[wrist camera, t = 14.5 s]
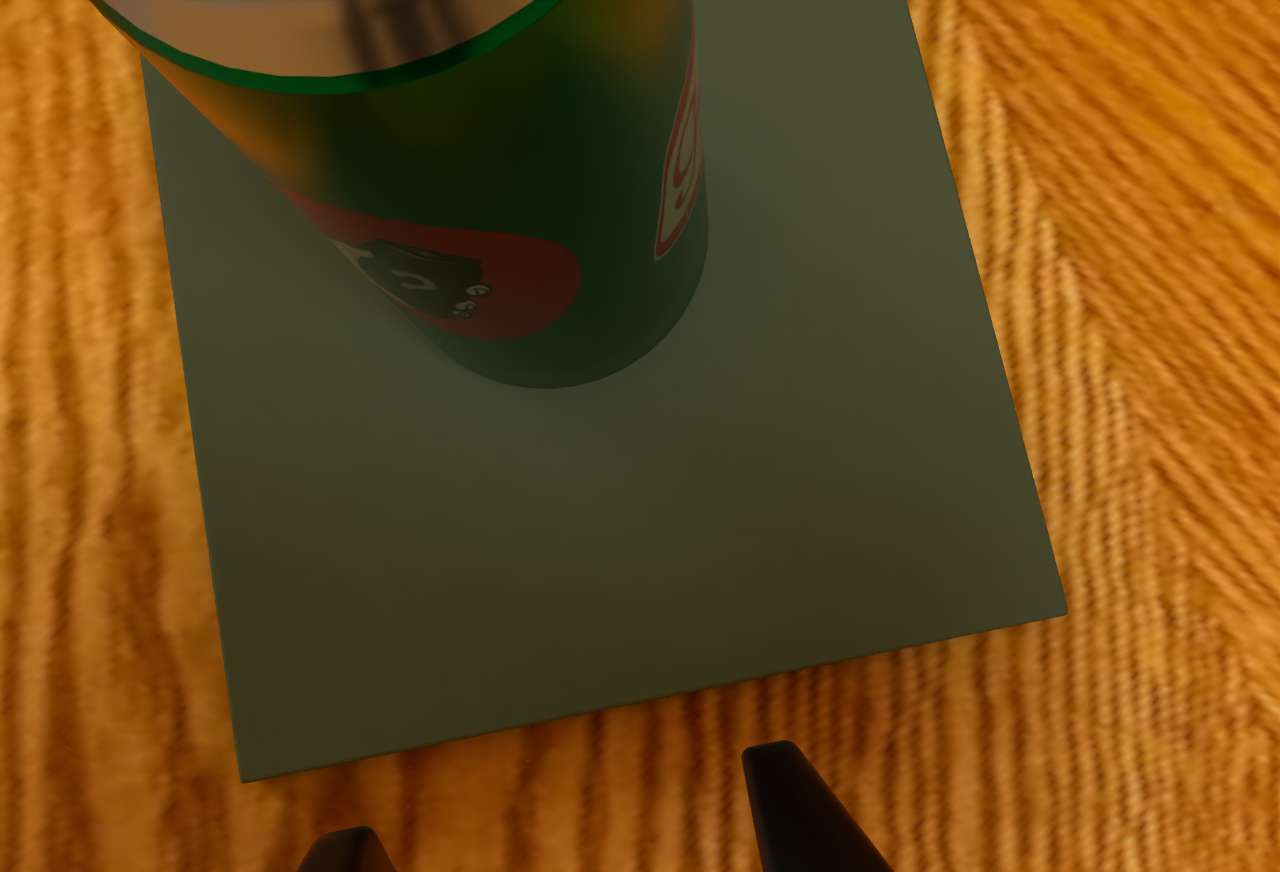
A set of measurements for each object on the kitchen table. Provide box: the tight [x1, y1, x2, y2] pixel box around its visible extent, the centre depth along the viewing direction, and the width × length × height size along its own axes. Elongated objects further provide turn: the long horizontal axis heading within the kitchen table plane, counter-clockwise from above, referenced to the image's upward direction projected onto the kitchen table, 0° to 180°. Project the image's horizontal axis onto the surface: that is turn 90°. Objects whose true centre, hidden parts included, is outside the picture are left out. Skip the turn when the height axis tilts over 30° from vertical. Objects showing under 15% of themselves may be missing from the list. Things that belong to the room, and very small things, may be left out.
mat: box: [140, 0, 1068, 784], centre depth 21 cm, size 22×13×1 cm, turn 12°
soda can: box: [90, 0, 709, 389], centre depth 14 cm, size 5×5×12 cm
